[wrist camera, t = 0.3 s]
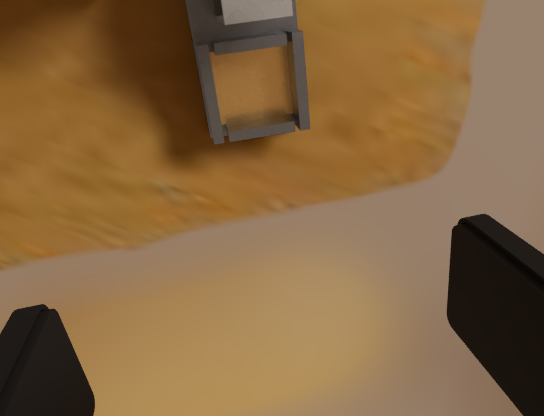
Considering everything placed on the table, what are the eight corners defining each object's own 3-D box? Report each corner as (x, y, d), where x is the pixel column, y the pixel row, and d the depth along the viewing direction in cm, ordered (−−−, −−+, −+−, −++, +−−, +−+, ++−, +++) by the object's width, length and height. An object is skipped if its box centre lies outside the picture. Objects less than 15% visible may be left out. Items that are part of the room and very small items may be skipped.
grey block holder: (164, -113, 30) (155, -160, 21) (278, -124, 31) (316, -174, 22) (209, 131, 38) (216, 172, 29) (299, 117, 39) (333, 152, 30)
